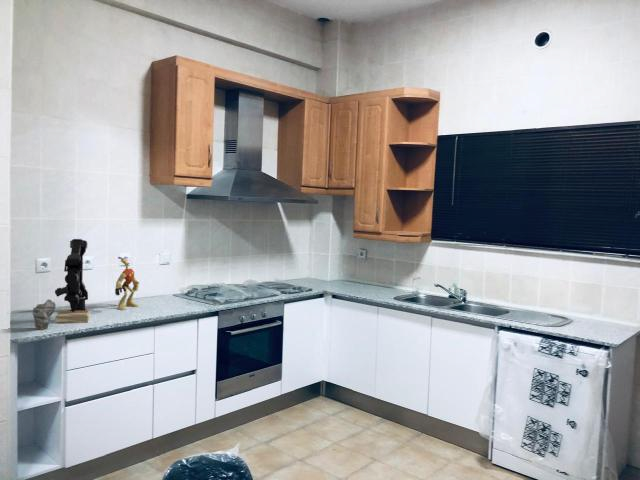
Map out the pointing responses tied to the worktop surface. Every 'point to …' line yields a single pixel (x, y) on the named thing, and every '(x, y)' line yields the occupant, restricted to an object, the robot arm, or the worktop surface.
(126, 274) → the toy
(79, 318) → the plywood box
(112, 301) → the worktop surface
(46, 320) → the rock
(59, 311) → the flap
